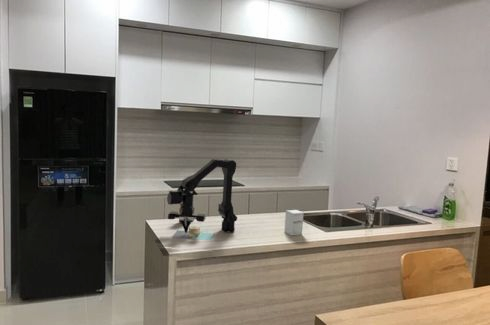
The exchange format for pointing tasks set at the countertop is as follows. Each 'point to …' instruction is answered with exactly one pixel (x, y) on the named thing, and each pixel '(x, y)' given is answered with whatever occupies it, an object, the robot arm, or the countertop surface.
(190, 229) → the beech block
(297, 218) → the supplement box
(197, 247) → the countertop surface
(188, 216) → the condiment
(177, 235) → the runner mat
